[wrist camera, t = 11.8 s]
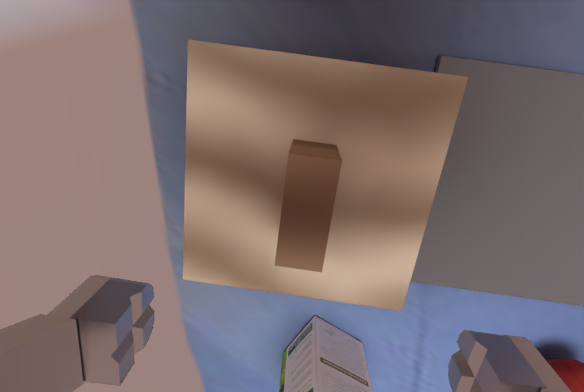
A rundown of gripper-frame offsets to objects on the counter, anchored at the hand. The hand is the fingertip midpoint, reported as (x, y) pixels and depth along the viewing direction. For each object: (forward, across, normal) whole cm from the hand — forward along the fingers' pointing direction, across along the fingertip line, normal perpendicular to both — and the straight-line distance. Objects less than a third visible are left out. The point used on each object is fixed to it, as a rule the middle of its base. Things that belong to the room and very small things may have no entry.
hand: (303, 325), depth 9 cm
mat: (+19, -17, 0) cm, 26 cm away
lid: (+13, 0, 0) cm, 13 cm away
